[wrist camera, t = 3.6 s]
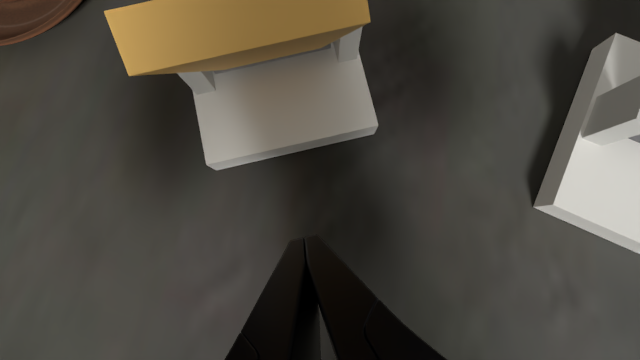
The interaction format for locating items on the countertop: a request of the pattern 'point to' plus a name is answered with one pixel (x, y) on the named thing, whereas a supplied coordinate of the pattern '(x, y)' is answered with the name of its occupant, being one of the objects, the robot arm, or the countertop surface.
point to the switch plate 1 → (283, 105)
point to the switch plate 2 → (600, 149)
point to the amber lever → (227, 32)
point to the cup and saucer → (31, 17)
